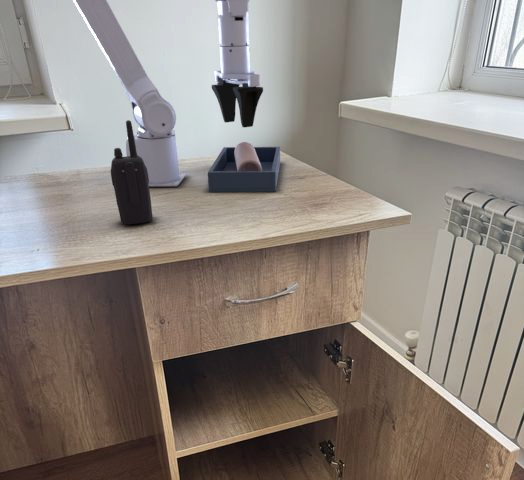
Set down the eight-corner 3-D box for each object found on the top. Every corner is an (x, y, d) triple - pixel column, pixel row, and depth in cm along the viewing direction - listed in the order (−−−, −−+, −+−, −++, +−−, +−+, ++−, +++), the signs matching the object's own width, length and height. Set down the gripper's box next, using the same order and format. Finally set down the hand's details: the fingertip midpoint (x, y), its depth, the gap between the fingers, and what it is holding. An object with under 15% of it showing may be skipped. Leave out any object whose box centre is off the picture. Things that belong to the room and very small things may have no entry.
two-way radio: (153, 217, 82) (138, 118, 74) (157, 225, 79) (142, 122, 70) (118, 221, 81) (100, 120, 73) (121, 230, 77) (102, 125, 69)
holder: (209, 192, 94) (207, 172, 92) (224, 164, 113) (223, 147, 111) (275, 191, 93) (275, 171, 91) (280, 163, 112) (280, 146, 110)
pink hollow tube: (263, 160, 93) (256, 142, 108) (238, 159, 92) (234, 140, 107) (261, 186, 95) (254, 164, 110) (237, 184, 95) (233, 163, 110)
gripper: (273, 45, 90) (273, 126, 97) (234, 44, 101) (238, 117, 108) (239, 47, 87) (242, 130, 95) (203, 46, 98) (208, 121, 105)
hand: (238, 124), depth 101 cm, fingers open, 7 cm apart
